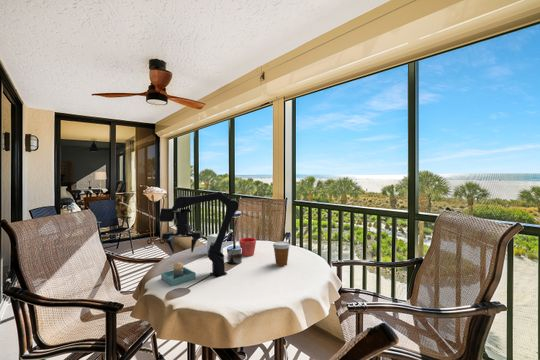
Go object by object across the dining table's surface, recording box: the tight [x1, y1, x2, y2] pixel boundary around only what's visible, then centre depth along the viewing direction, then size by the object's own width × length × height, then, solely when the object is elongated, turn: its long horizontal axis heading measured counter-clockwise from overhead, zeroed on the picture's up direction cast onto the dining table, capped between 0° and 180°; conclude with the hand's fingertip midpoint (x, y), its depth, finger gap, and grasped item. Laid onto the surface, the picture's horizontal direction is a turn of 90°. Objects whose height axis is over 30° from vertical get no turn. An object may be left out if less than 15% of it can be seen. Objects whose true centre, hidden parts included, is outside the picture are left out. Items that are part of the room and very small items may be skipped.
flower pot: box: [238, 237, 257, 257], centre depth 160 cm, size 11×11×10 cm
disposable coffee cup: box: [272, 240, 290, 267], centre depth 141 cm, size 10×10×12 cm
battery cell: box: [173, 262, 184, 279], centre depth 121 cm, size 4×4×7 cm
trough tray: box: [160, 266, 197, 287], centre depth 121 cm, size 12×12×3 cm
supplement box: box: [206, 233, 224, 256], centre depth 161 cm, size 7×7×13 cm
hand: (182, 252), depth 124 cm, fingers open, 9 cm apart
